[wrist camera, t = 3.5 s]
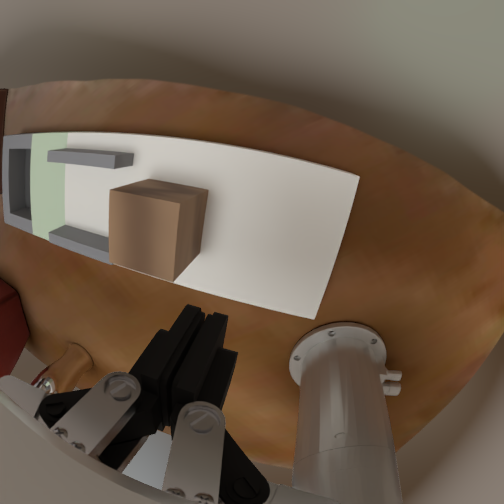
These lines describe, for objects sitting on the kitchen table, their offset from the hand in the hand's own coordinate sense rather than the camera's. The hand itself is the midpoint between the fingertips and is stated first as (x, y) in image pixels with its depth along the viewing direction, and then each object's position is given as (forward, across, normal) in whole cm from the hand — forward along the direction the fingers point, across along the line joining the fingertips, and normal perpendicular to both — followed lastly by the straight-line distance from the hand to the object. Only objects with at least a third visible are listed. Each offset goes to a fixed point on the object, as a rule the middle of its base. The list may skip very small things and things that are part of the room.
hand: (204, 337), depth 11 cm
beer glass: (+18, +29, +33) cm, 48 cm away
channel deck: (+18, +16, 0) cm, 24 cm away
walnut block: (+14, +8, 0) cm, 16 cm away
